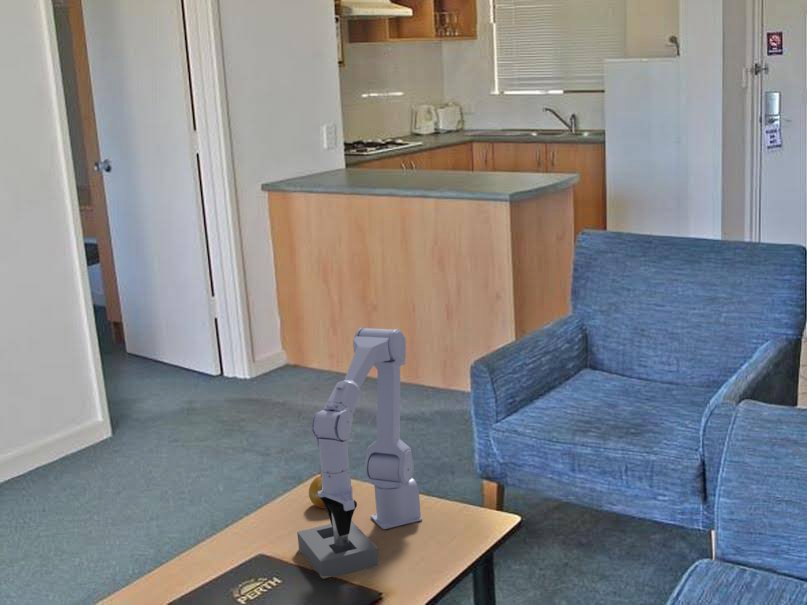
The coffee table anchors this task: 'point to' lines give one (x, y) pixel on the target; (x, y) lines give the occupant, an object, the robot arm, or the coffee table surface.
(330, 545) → the hole board
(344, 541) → the pin
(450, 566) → the coffee table surface
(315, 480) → the fruit
